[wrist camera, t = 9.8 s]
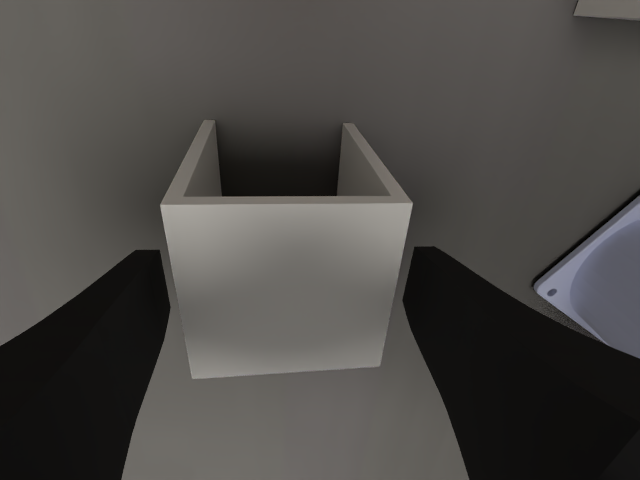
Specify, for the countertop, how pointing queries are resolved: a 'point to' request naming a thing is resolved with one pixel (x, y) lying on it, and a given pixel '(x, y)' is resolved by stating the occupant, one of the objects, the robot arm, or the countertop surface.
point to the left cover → (284, 266)
